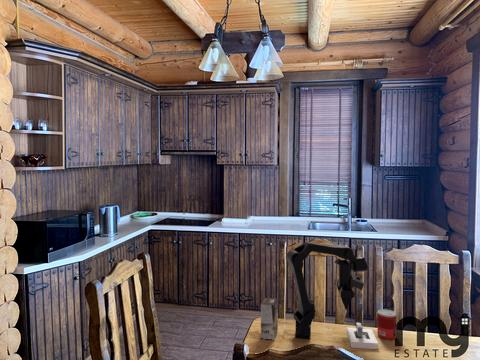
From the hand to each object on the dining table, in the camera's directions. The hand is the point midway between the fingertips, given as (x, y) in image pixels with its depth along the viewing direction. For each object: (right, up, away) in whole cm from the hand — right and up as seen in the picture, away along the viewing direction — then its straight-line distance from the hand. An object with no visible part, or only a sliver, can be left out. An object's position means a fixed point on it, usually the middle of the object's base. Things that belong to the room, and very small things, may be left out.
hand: (345, 305), depth 166 cm
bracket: (+4, -12, -10) cm, 16 cm away
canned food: (+17, -12, -6) cm, 22 cm away
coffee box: (-36, -13, -4) cm, 38 cm away
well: (+4, -12, -10) cm, 16 cm away
